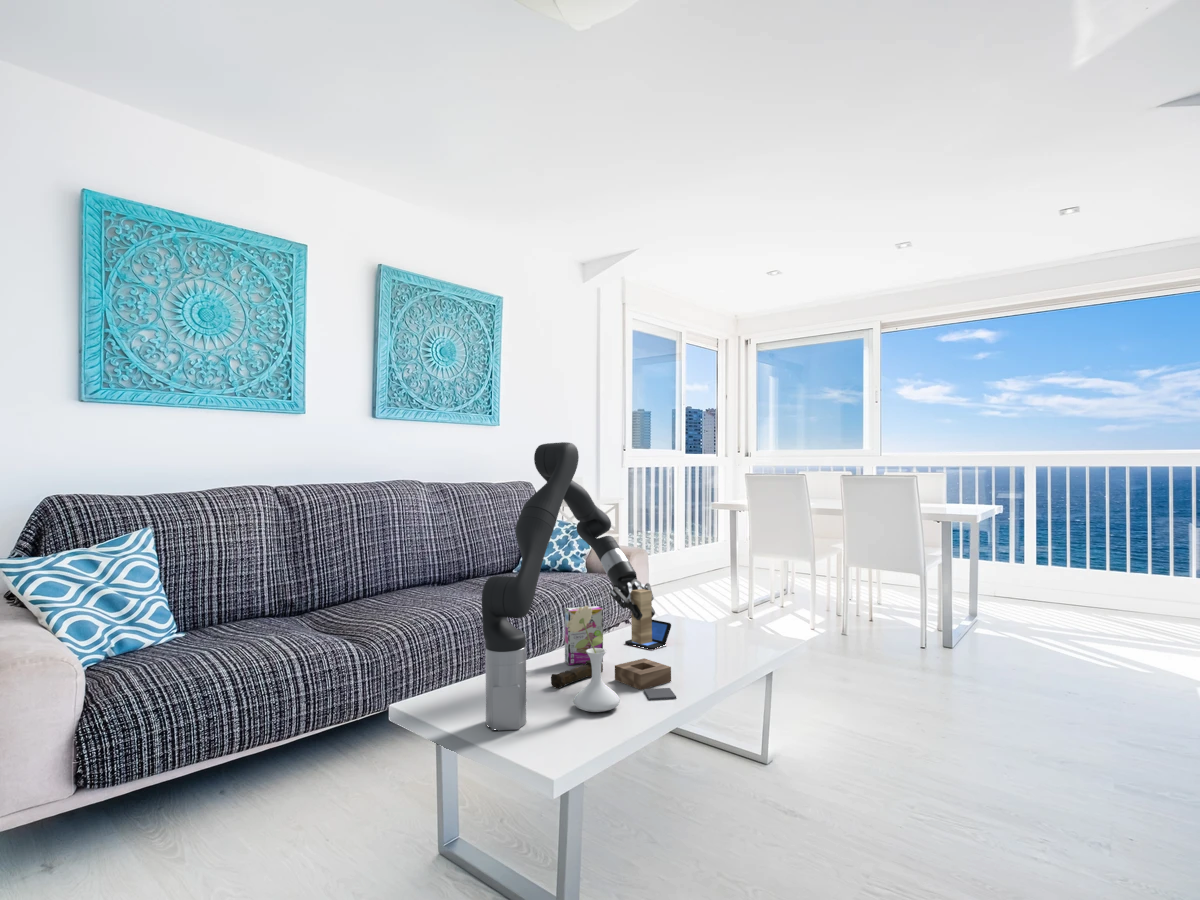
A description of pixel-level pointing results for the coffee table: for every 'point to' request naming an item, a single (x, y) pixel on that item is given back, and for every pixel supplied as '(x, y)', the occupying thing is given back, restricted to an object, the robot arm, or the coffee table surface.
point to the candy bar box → (582, 636)
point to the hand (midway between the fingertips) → (646, 616)
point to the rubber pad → (659, 693)
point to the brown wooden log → (572, 675)
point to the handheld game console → (655, 635)
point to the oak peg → (644, 625)
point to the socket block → (642, 673)
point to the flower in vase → (596, 691)
